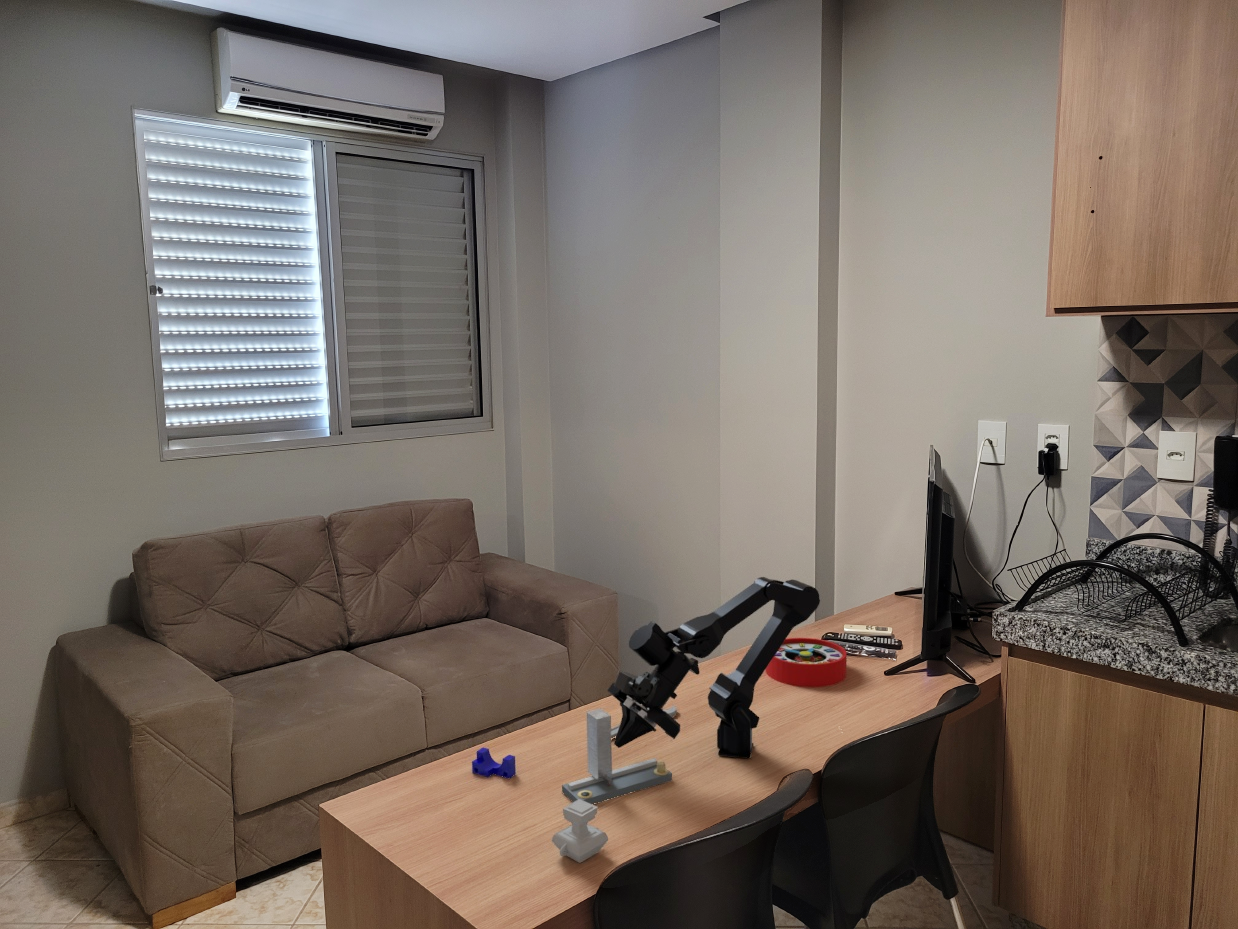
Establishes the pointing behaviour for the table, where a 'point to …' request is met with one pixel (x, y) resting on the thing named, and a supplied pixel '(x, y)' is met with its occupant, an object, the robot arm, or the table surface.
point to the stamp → (579, 832)
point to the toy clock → (808, 663)
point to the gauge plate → (618, 782)
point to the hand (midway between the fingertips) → (616, 746)
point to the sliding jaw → (599, 745)
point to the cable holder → (493, 765)
